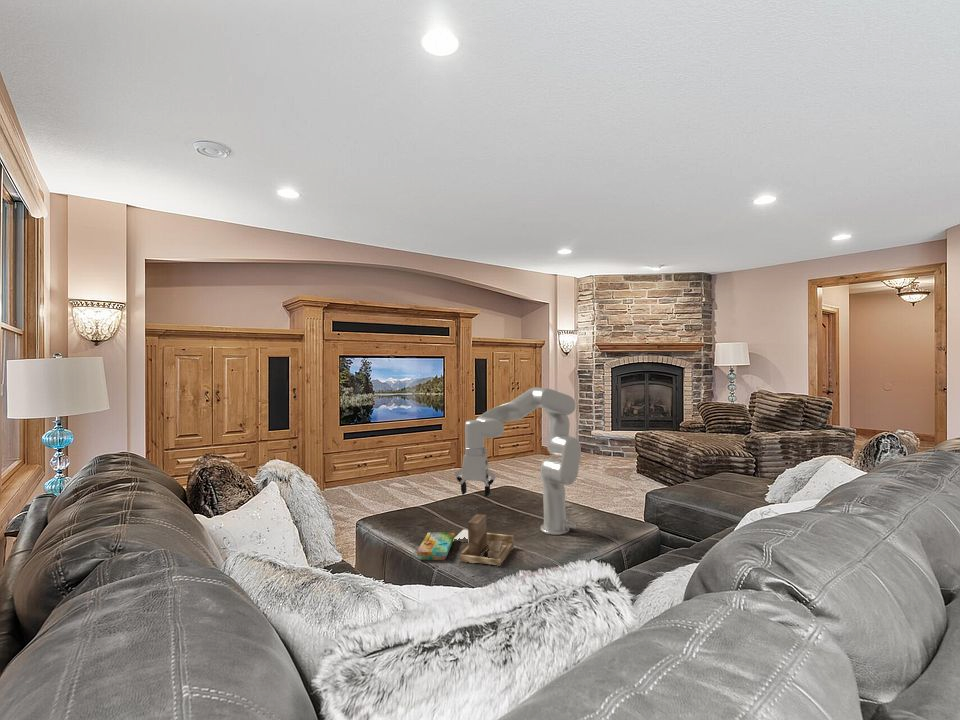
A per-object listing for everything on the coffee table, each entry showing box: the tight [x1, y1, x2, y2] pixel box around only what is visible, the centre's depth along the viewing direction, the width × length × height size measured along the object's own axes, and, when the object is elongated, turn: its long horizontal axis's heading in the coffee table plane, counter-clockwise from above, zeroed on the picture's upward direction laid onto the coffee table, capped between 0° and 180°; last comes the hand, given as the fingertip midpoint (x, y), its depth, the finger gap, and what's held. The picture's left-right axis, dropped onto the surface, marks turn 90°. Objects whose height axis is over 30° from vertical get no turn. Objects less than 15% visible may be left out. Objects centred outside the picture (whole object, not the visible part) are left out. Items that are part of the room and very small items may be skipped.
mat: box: [453, 529, 468, 542], centre depth 221 cm, size 10×13×1 cm
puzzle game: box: [416, 532, 456, 561], centre depth 208 cm, size 12×5×20 cm
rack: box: [459, 532, 515, 565], centre depth 203 cm, size 16×18×5 cm
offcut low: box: [487, 545, 506, 558], centre depth 202 cm, size 5×8×3 cm, turn 160°
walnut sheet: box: [467, 513, 488, 556], centre depth 204 cm, size 4×10×14 cm, turn 160°
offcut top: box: [489, 541, 502, 553], centre depth 201 cm, size 4×6×2 cm, turn 171°
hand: (475, 494), depth 203 cm, fingers open, 9 cm apart
